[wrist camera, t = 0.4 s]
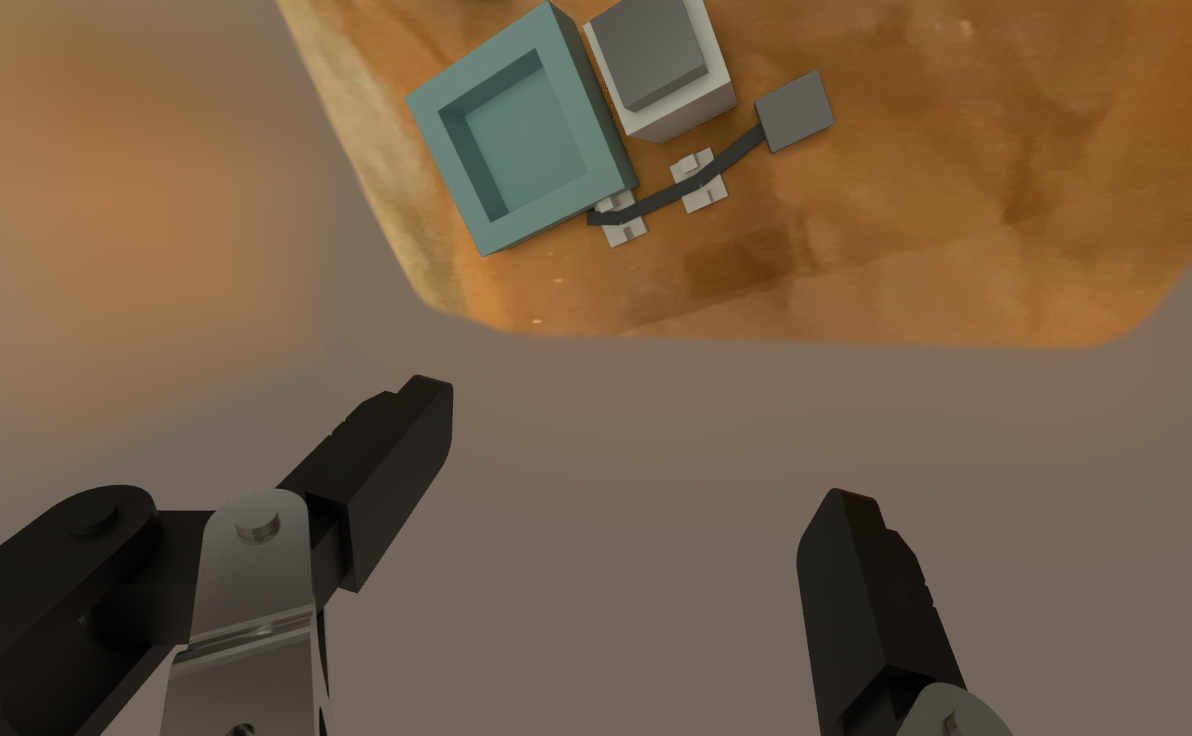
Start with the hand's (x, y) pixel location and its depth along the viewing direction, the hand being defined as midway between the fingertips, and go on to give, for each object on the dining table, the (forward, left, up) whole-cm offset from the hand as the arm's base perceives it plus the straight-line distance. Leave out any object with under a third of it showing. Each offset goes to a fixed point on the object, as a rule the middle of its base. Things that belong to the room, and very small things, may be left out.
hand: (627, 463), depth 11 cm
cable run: (-1, -5, -23) cm, 24 cm away
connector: (-2, -10, -23) cm, 25 cm away
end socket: (+7, -11, -23) cm, 27 cm away
